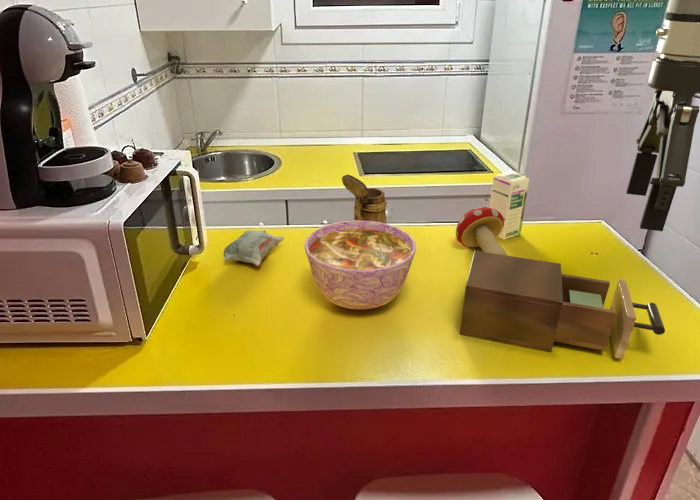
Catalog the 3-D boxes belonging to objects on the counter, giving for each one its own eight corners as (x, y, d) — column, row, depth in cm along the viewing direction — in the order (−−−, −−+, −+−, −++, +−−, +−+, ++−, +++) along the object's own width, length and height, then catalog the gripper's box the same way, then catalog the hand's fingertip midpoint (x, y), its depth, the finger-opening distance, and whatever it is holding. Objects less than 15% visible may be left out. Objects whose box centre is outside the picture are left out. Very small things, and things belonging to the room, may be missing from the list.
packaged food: (284, 248, 116) (282, 228, 113) (259, 273, 106) (256, 252, 104) (249, 242, 118) (247, 223, 116) (221, 266, 108) (219, 245, 106)
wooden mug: (330, 247, 117) (330, 170, 108) (364, 226, 126) (366, 154, 118) (363, 258, 112) (365, 179, 104) (395, 235, 122) (399, 162, 113)
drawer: (646, 324, 90) (659, 285, 86) (658, 366, 80) (673, 324, 76) (533, 304, 95) (541, 267, 91) (532, 341, 85) (541, 301, 81)
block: (594, 319, 89) (600, 294, 87) (597, 336, 85) (604, 310, 82) (563, 314, 90) (569, 289, 88) (564, 330, 86) (570, 305, 84)
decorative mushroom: (519, 238, 102) (488, 188, 111) (468, 264, 104) (442, 213, 114) (531, 265, 110) (500, 216, 120) (483, 288, 112) (457, 239, 122)
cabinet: (550, 310, 95) (560, 263, 90) (551, 352, 84) (563, 301, 80) (468, 295, 99) (474, 250, 94) (459, 334, 88) (465, 285, 84)
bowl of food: (340, 262, 110) (340, 212, 105) (428, 287, 102) (433, 234, 96) (284, 308, 95) (281, 252, 90) (382, 342, 86) (385, 283, 81)
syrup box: (503, 240, 120) (513, 181, 113) (485, 231, 124) (493, 173, 118) (520, 235, 123) (531, 176, 116) (501, 226, 127) (511, 169, 120)
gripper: (640, 45, 78) (606, 179, 88) (675, 70, 57) (626, 242, 67) (696, 47, 76) (655, 184, 86) (755, 74, 55) (692, 251, 65)
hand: (642, 210), depth 76 cm, fingers open, 13 cm apart
